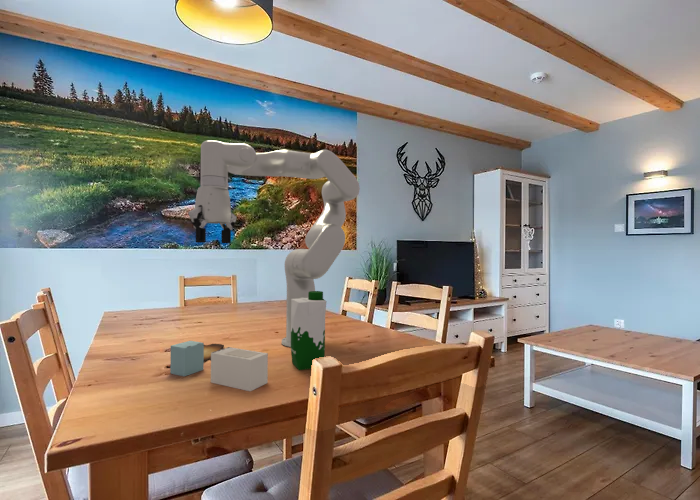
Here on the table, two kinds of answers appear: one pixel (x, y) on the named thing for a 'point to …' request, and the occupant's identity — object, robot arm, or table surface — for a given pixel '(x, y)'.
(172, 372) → the stub
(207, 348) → the parchment
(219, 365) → the block
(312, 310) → the milk carton
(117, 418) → the table surface
